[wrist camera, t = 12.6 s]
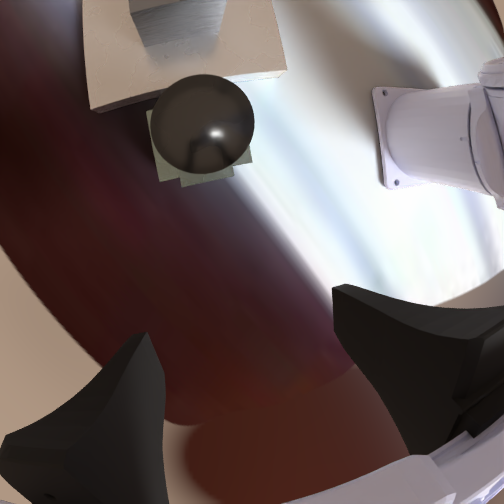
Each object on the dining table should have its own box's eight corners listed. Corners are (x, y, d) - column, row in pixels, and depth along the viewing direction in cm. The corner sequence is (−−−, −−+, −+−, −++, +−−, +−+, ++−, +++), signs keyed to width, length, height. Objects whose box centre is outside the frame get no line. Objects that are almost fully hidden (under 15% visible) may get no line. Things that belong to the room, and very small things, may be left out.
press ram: (222, 105, 15) (244, 67, 8) (232, 160, 16) (262, 163, 9) (164, 117, 15) (142, 86, 8) (175, 172, 16) (160, 184, 9)
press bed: (252, -34, 15) (268, -70, 10) (293, 159, 20) (323, 160, 15) (90, -4, 13) (69, -36, 9) (116, 197, 18) (93, 210, 14)
